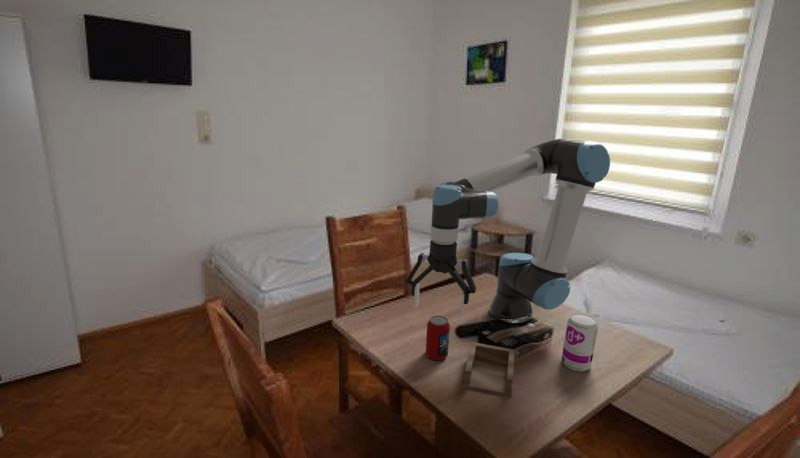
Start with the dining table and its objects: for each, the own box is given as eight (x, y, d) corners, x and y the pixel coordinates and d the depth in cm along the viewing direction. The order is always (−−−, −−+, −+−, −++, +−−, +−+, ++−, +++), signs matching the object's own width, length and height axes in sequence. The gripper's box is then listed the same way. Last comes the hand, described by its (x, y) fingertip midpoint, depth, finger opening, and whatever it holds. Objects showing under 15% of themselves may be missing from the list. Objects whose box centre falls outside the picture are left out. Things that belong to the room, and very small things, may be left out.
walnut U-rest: (469, 357, 130) (470, 341, 129) (513, 365, 127) (515, 349, 125) (462, 386, 116) (463, 370, 115) (511, 397, 113) (513, 380, 111)
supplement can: (577, 375, 123) (585, 328, 119) (555, 360, 130) (562, 315, 126) (596, 368, 126) (605, 322, 122) (574, 354, 133) (581, 310, 129)
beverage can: (446, 363, 127) (449, 326, 123) (423, 360, 128) (425, 323, 125) (448, 350, 133) (451, 316, 130) (427, 347, 134) (429, 313, 131)
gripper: (490, 242, 120) (482, 310, 126) (404, 231, 127) (401, 297, 133) (487, 250, 113) (480, 322, 119) (397, 238, 120) (394, 308, 126)
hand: (438, 309), depth 126 cm, fingers open, 13 cm apart
